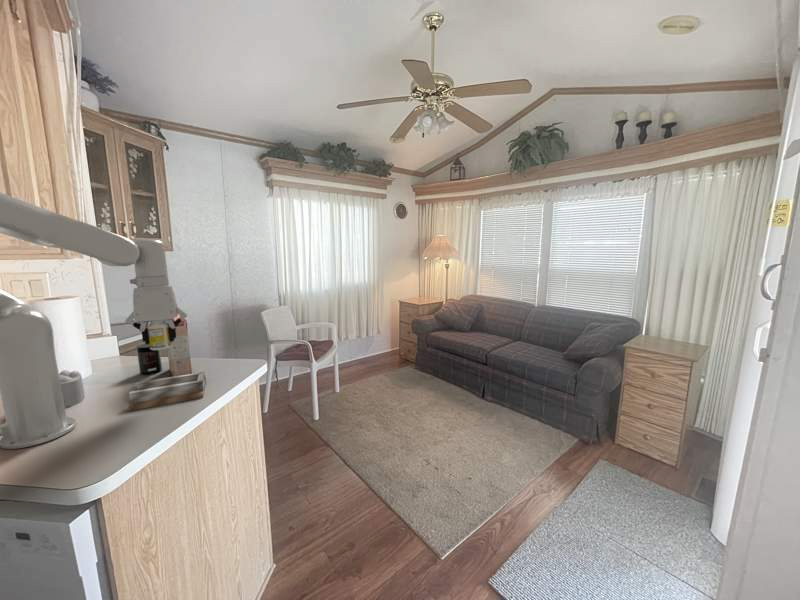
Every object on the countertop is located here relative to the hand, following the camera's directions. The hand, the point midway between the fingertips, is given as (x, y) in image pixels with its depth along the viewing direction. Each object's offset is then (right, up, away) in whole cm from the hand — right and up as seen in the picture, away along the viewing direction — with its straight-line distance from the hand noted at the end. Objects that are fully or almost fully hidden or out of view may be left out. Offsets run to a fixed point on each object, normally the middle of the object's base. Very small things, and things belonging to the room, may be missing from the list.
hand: (160, 341), depth 99 cm
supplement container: (-20, -15, +23) cm, 34 cm away
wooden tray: (+1, -17, +3) cm, 17 cm away
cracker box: (-9, -14, +23) cm, 28 cm away
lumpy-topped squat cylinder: (-30, -18, 0) cm, 35 cm away
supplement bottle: (0, -2, 0) cm, 2 cm away
